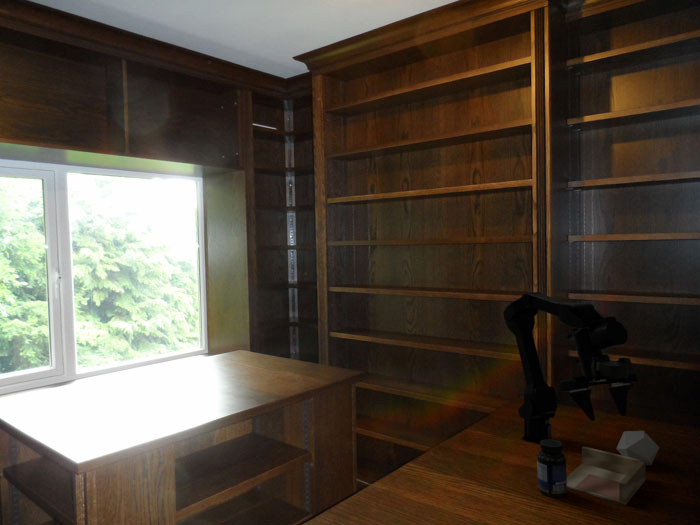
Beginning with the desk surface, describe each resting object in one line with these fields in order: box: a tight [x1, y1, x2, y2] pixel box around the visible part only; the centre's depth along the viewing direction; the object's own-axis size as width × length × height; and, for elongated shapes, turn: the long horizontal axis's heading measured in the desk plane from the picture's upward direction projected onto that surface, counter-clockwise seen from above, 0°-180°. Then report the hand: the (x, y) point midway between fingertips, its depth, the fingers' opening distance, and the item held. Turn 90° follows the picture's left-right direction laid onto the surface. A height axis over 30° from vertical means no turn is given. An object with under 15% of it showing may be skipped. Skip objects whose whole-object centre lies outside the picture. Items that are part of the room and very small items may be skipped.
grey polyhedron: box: [616, 430, 660, 466], centre depth 129 cm, size 8×9×10 cm
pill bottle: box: [536, 439, 568, 498], centre depth 115 cm, size 6×6×11 cm
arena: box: [567, 446, 647, 505], centre depth 119 cm, size 14×16×4 cm
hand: (608, 418), depth 122 cm, fingers open, 9 cm apart
